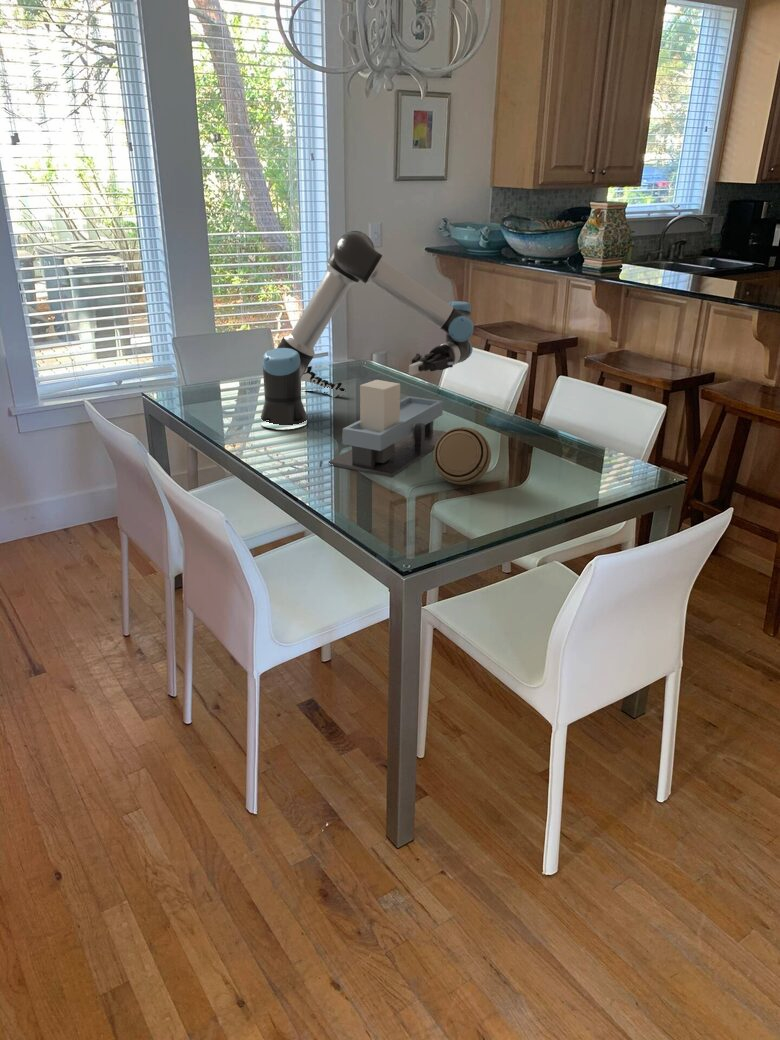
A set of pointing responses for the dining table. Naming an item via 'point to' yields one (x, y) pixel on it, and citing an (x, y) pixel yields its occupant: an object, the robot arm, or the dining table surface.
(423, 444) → the beam stand
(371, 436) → the grey tray on legs
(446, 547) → the dining table surface
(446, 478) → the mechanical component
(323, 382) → the logo
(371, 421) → the block
